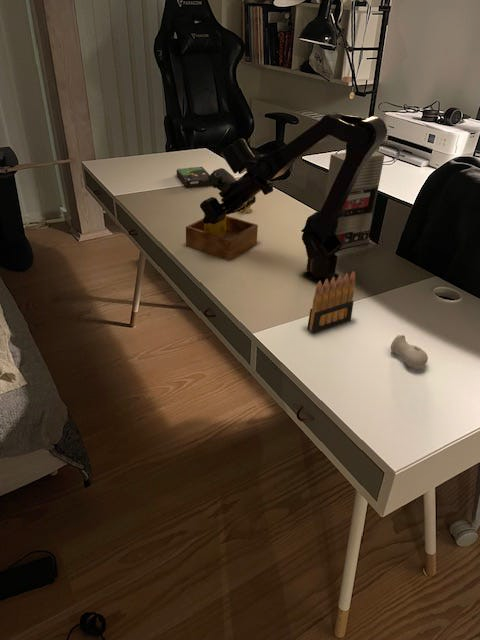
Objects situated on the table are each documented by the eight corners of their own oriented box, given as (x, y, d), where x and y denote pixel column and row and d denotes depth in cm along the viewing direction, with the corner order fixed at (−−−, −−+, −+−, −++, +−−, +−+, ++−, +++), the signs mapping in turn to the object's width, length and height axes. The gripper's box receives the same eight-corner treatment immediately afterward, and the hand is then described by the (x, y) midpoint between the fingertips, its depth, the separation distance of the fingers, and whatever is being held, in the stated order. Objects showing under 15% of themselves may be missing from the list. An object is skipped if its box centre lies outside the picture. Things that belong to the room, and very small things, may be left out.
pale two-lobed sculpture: (427, 374, 97) (409, 373, 95) (401, 350, 103) (383, 349, 101) (438, 356, 95) (420, 355, 93) (411, 332, 101) (393, 331, 99)
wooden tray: (256, 243, 142) (258, 224, 139) (229, 260, 132) (229, 240, 129) (215, 229, 148) (215, 212, 145) (186, 245, 139) (185, 226, 136)
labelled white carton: (330, 252, 139) (344, 160, 125) (318, 243, 143) (330, 154, 130) (369, 243, 144) (387, 155, 131) (356, 235, 149) (372, 149, 135)
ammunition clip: (312, 333, 105) (319, 283, 99) (306, 329, 107) (313, 279, 100) (350, 320, 110) (360, 272, 104) (345, 316, 111) (354, 268, 105)
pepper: (230, 234, 140) (231, 203, 135) (214, 240, 136) (214, 208, 132) (215, 227, 144) (216, 197, 139) (199, 233, 140) (198, 201, 135)
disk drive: (214, 186, 181) (202, 173, 193) (214, 178, 180) (202, 166, 191) (186, 188, 178) (175, 175, 190) (186, 180, 177) (175, 167, 188)
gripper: (248, 153, 133) (214, 185, 145) (206, 169, 120) (172, 203, 131) (271, 188, 134) (236, 217, 145) (232, 208, 121) (196, 239, 132)
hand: (211, 218), depth 139 cm, fingers closed on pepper, 6 cm apart
